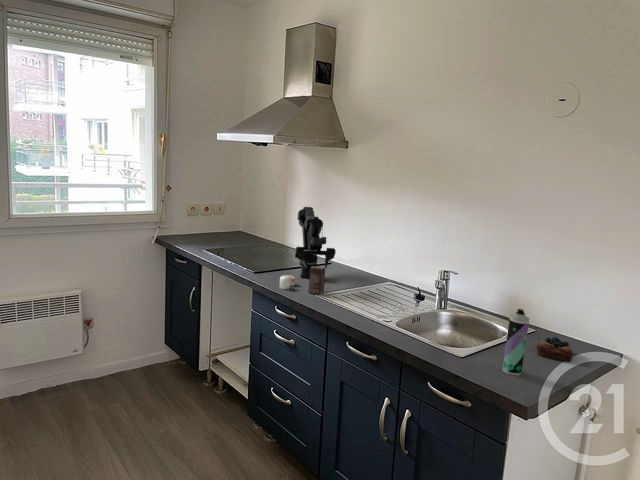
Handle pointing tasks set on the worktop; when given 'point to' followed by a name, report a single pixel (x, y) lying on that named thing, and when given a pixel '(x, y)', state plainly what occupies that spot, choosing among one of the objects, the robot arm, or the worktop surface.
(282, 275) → the birch block
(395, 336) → the worktop surface
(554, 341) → the pastry
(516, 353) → the spray can
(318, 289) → the box
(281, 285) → the plastic cylinder
